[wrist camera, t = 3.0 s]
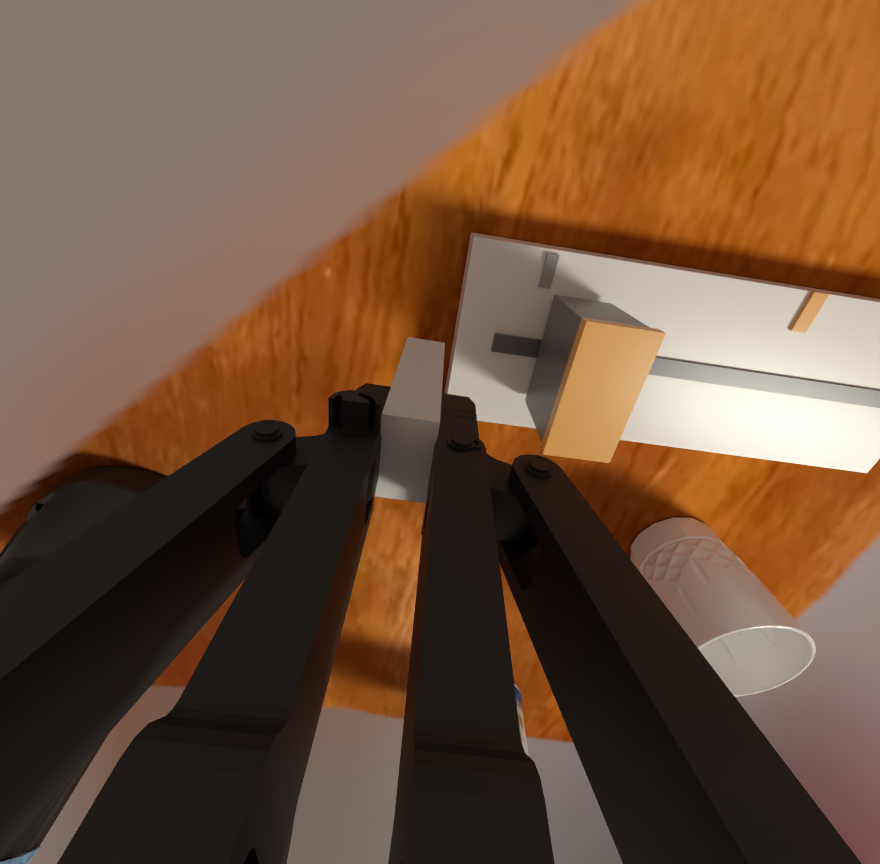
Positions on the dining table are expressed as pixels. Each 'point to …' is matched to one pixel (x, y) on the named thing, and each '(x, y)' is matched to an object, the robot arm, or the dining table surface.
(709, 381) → the dimmer console
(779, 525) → the dining table surface
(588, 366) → the fader knob
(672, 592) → the white cup
